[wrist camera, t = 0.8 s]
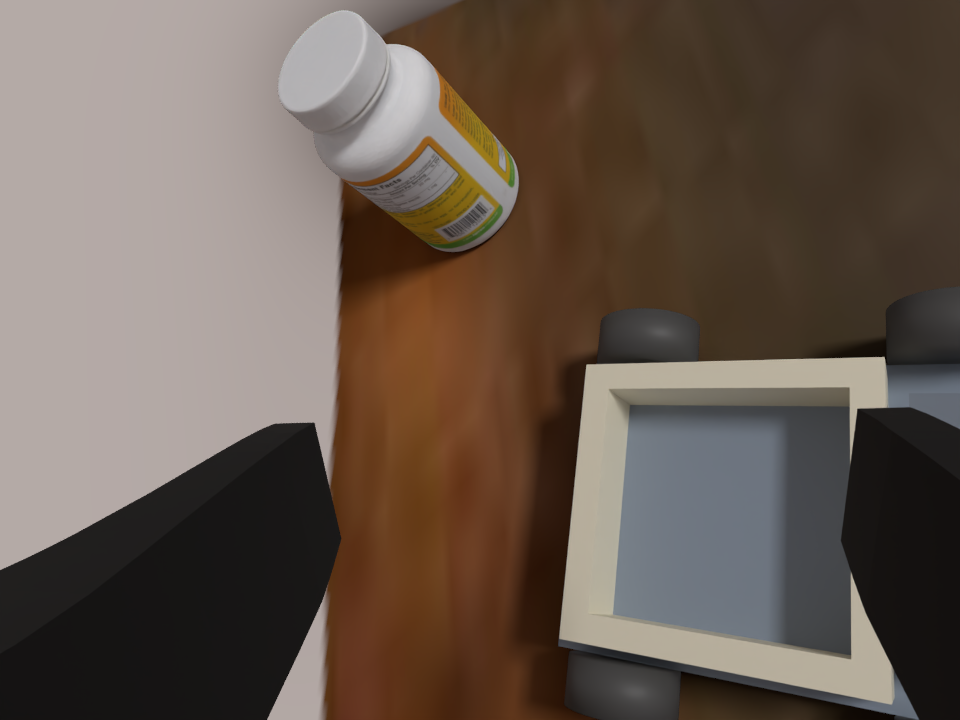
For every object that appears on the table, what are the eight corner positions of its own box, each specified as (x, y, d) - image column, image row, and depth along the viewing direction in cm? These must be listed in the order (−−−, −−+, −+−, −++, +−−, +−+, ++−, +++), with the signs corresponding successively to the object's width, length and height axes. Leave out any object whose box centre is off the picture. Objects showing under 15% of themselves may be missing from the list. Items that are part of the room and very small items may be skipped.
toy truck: (1098, 818, 16) (1133, 856, 13) (568, 691, 23) (523, 699, 20) (1054, 325, 19) (1075, 278, 16) (601, 344, 26) (566, 313, 23)
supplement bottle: (447, 142, 33) (301, -7, 25) (541, 152, 30) (407, -14, 22) (402, 244, 33) (238, 125, 25) (492, 265, 30) (338, 136, 22)
